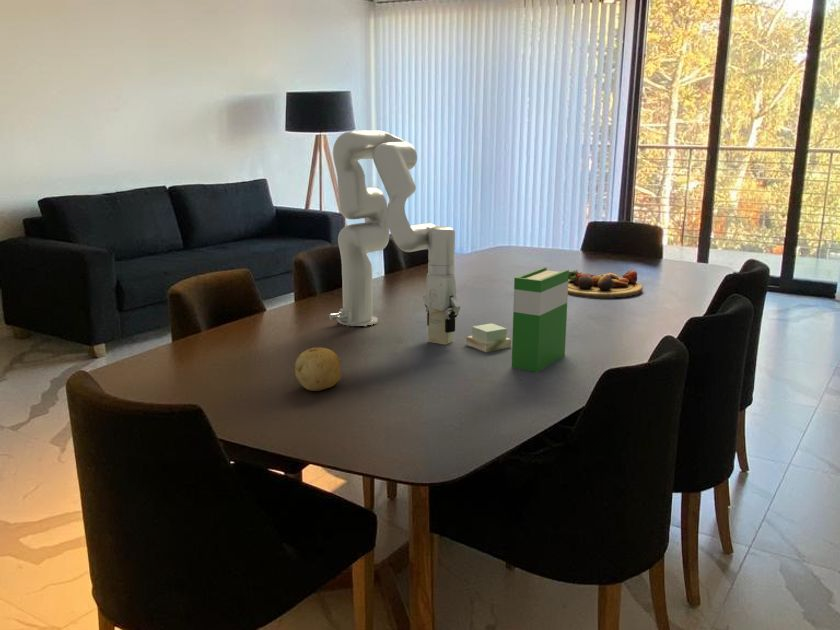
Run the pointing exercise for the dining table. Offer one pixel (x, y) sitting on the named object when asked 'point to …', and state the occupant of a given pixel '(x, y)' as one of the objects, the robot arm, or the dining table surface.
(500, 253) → the dining table surface
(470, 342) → the tower base
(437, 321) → the skincare box
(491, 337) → the tower top
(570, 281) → the wooden plate with food
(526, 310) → the hardback book
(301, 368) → the potato
